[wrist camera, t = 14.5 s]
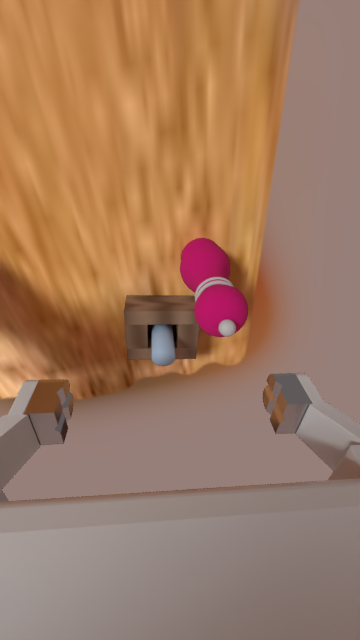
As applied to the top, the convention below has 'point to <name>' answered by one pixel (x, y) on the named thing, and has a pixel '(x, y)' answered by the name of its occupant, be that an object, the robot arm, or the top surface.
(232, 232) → the top surface
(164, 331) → the peg
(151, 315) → the socket block
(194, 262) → the pepper mill
